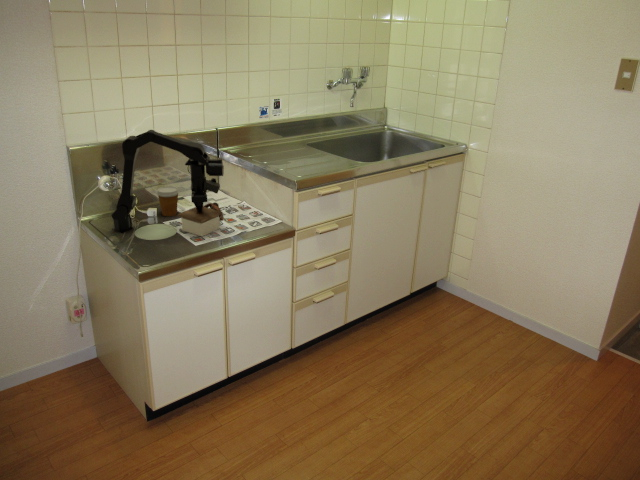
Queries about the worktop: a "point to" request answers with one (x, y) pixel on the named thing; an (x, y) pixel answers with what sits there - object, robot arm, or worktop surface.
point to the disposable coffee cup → (168, 200)
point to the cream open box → (200, 226)
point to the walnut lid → (200, 214)
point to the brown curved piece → (215, 207)
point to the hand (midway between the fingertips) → (200, 211)
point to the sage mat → (155, 231)
